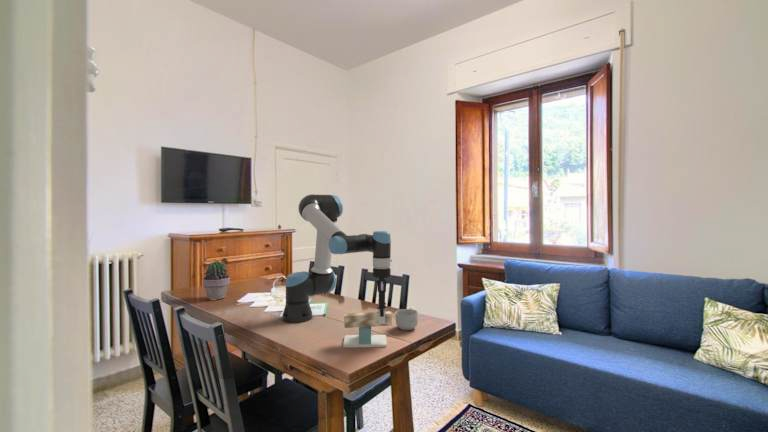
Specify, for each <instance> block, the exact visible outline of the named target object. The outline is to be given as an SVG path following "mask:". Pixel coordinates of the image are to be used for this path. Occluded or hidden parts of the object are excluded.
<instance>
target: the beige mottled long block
mask: <svg viewBox="0 0 768 432" xmlns="http://www.w3.org/2000/svg"><path fill="white" fill-rule="evenodd" d="M343 321H344V323H343V324H344V329H345V328H346V329H350V328H351V329H352V328H359V327H371V328H373V327H386V326H387V327H389V326H390V327H391V326H393V321H392V311H385V324H379V312H378V311H373V312H372V311H370V312H352V313H351V312H349V313H344V315H343Z"/></svg>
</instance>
